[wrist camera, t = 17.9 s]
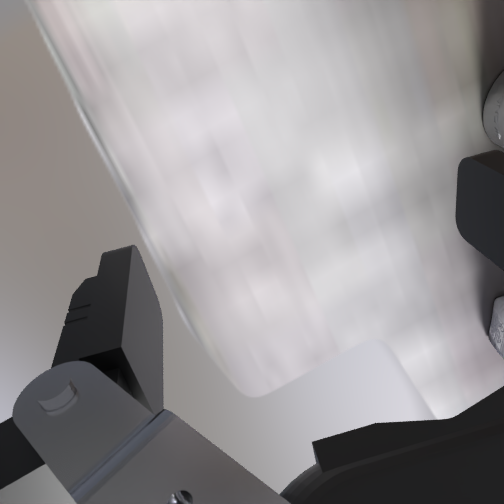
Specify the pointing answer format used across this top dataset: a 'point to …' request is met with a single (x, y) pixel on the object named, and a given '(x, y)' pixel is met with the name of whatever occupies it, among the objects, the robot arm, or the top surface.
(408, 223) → the top surface
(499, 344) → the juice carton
